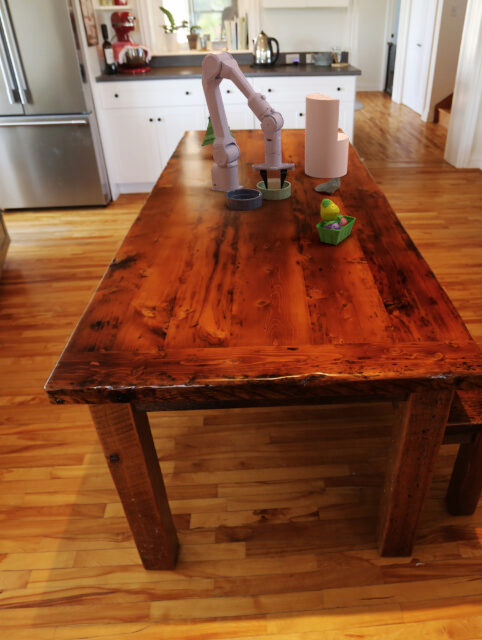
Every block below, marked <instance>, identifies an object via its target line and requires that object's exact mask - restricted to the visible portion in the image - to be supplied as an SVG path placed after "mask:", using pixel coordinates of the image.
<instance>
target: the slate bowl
mask: <svg viewBox="0 0 482 640" xmlns="http://www.w3.org/2000/svg"><path fill="white" fill-rule="evenodd" d="M225 205H226V207H227V208H228V209H230V210H233V211H234V210H235V211H251V210H256V209H258V208H260V207H262V205H263V199H262V193H261V192H260V191H259V190H257V189H255V188H246V187H245V188H244V187H242V188H241V189H235V190H231V191H229V192H226V193H225Z"/></svg>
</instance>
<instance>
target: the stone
mask: <svg viewBox="0 0 482 640" xmlns="http://www.w3.org/2000/svg"><path fill="white" fill-rule="evenodd" d="M340 187H341V177H336V178H330V180H327V181H326V182H323V183H320V184H317V186H315V187H314V190H315V192H318V193H322V194H329V195H333V194H334V193H335V192H336V191H338V190H339V188H340Z"/></svg>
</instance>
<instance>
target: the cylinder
mask: <svg viewBox="0 0 482 640" xmlns="http://www.w3.org/2000/svg"><path fill="white" fill-rule="evenodd" d="M304 117H305V119H304V120H305V121H304V123H305V125H304V127H305V128H304V174H305V175H307V176H309V177H312V178H318V179H333V178H336V177H340V178H341V177H344V176H345V175H347V173H348V164H349V163H348V162H349V145H350V135H349V134H348V133H344V132H339V121H340V120H339V117H340V99H339V98H335V97H332V96H329V95H325V94H324V93H319V92H316V93H315V92H314V93H309V94H306V95H305V116H304Z"/></svg>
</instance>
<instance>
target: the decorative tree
mask: <svg viewBox="0 0 482 640" xmlns="http://www.w3.org/2000/svg"><path fill="white" fill-rule="evenodd" d="M229 131H230V135H231V136H232V137H233V138H235V139H236V136H235V135H233V132H232V130H231V126H229ZM214 141H215V135H214V131H213V127H212V123H211V119H210V116H209V118H208V123H207V127H206V131H205V134H204V137H203V140H202V144H201V147H204V146H208V145H213V143H214Z"/></svg>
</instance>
